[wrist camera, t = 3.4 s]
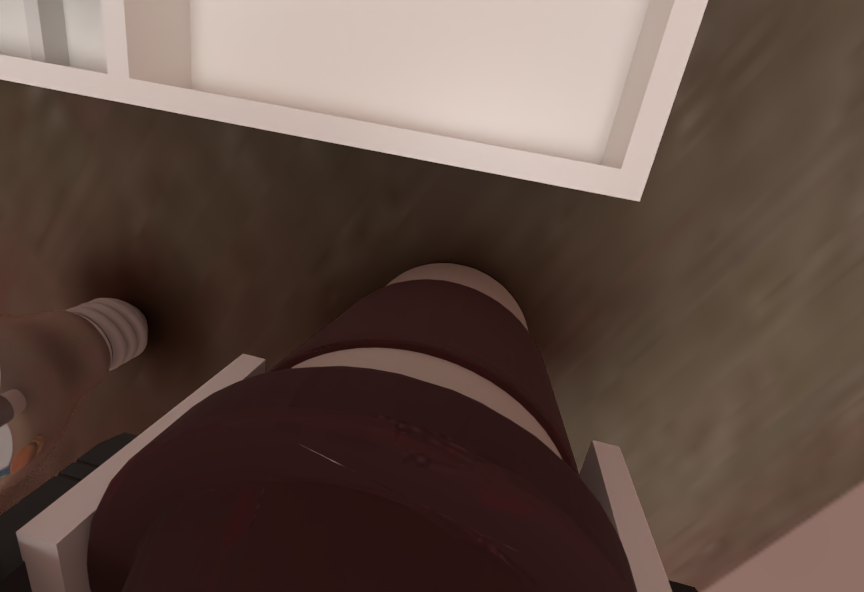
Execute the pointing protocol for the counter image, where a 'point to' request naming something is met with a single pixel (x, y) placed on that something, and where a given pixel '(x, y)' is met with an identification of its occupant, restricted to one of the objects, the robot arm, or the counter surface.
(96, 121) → the counter surface
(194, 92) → the white tray
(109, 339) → the light bulb
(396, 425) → the coffee cup
